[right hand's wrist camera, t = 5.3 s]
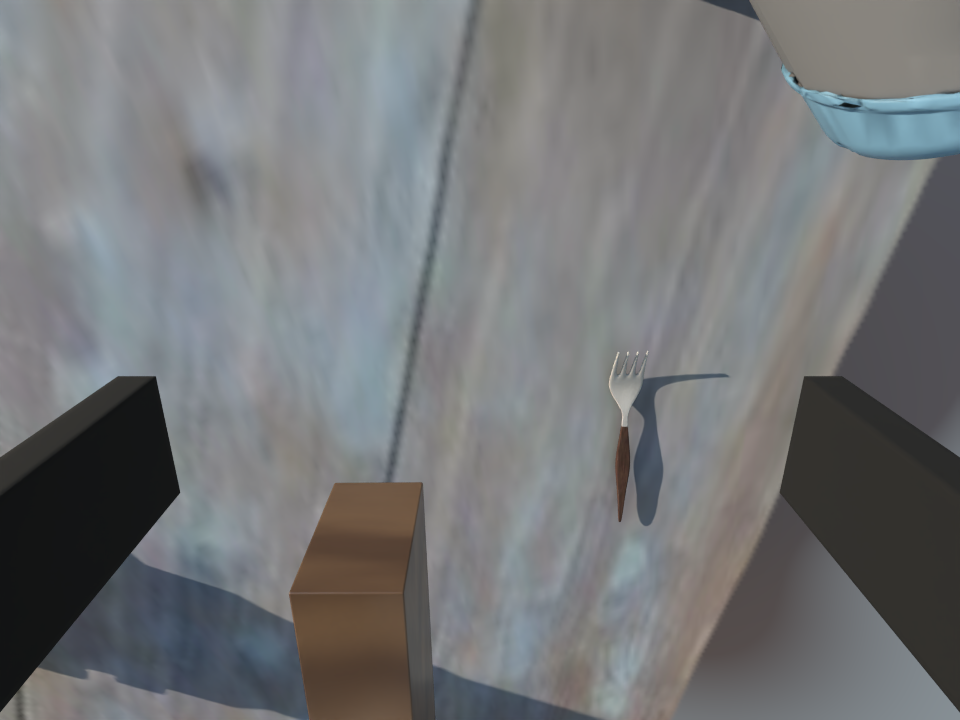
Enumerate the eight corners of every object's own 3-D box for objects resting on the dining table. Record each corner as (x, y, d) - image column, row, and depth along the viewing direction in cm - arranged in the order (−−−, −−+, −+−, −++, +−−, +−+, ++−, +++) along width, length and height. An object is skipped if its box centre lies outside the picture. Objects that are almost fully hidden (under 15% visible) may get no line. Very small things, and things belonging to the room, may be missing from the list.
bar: (334, 482, 36) (288, 593, 27) (422, 481, 36) (403, 592, 27) (370, 792, 46) (344, 943, 38) (439, 793, 46) (429, 944, 38)
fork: (602, 518, 51) (607, 533, 50) (610, 343, 46) (615, 352, 44) (633, 517, 51) (639, 532, 49) (644, 341, 45) (651, 351, 44)
